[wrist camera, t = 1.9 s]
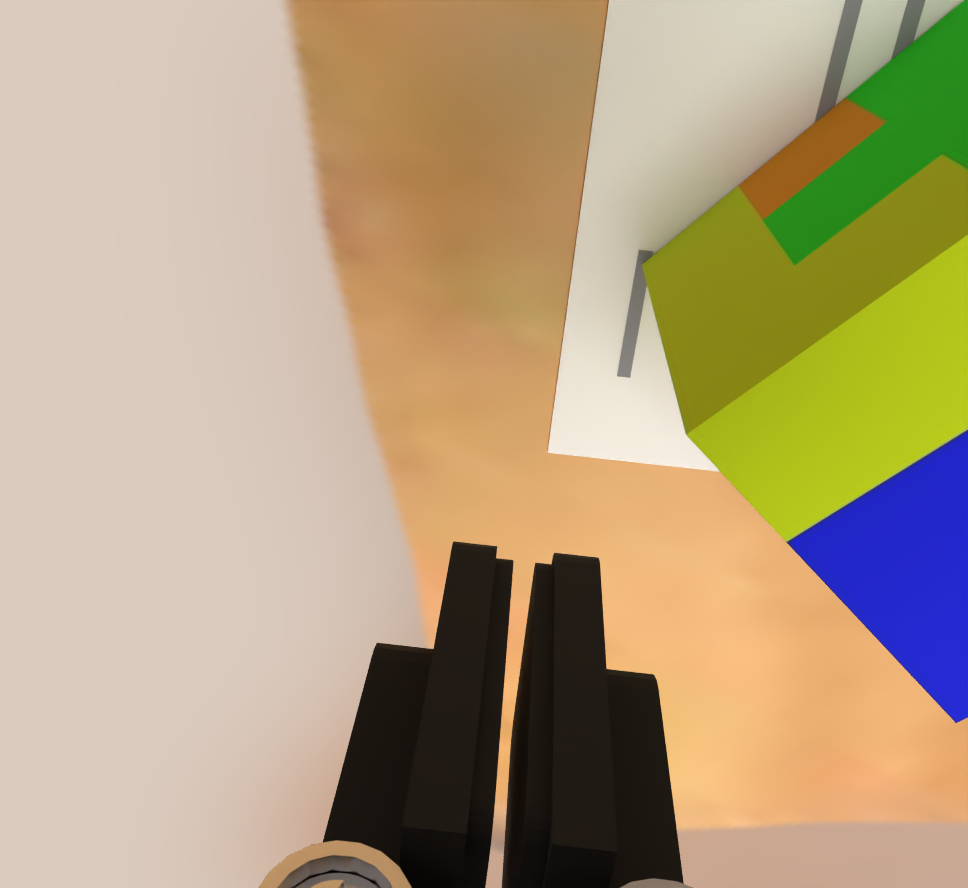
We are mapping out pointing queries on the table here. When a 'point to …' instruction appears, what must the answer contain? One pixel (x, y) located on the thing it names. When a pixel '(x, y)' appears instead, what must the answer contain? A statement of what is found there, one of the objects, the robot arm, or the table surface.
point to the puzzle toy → (847, 350)
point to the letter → (689, 178)
